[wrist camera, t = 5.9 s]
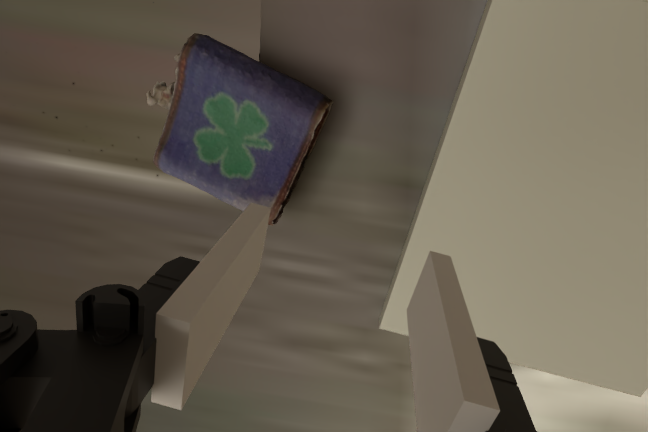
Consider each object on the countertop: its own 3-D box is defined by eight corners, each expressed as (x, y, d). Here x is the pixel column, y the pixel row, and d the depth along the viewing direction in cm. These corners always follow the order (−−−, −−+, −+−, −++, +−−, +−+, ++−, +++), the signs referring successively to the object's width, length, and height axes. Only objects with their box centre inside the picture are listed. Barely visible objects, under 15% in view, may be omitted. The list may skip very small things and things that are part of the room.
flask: (269, 233, 25) (123, 157, 25) (282, 216, 28) (149, 148, 28) (330, 101, 22) (157, 12, 22) (338, 96, 24) (185, 17, 24)
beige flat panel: (496, -27, 21) (503, -31, 20) (877, 57, 20) (905, 58, 19) (379, 318, 31) (379, 328, 30) (631, 384, 30) (640, 396, 29)
